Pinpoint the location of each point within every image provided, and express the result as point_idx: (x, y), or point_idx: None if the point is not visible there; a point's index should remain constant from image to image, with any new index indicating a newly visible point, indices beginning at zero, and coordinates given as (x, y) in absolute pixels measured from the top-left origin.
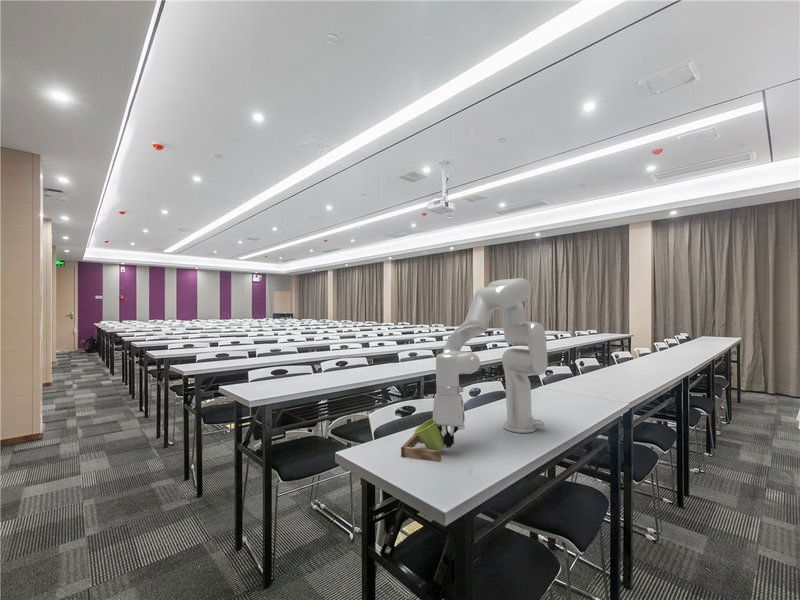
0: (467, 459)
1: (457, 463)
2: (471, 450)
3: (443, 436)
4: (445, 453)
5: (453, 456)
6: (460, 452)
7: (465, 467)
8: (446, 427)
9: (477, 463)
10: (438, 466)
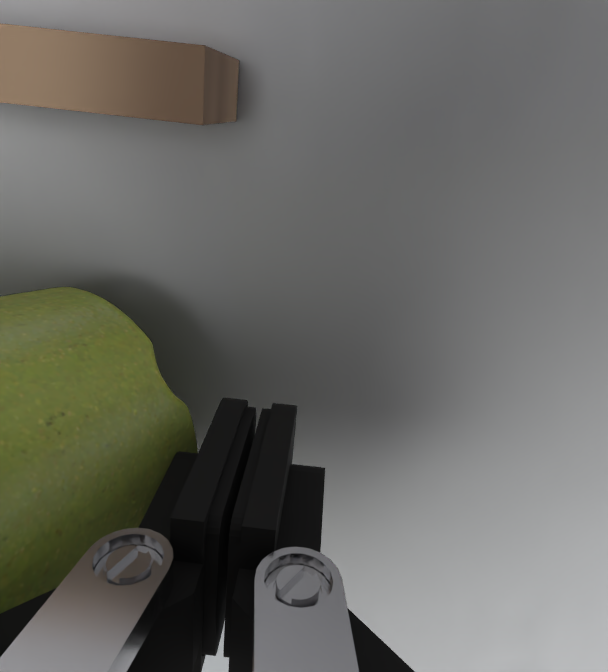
0: (494, 513)
1: (387, 604)
2: (570, 238)
3: (58, 84)
4: (221, 393)
5: (329, 460)
6: (408, 335)
7: (467, 664)
8: (111, 667)
9: (598, 586)
10: (220, 667)
